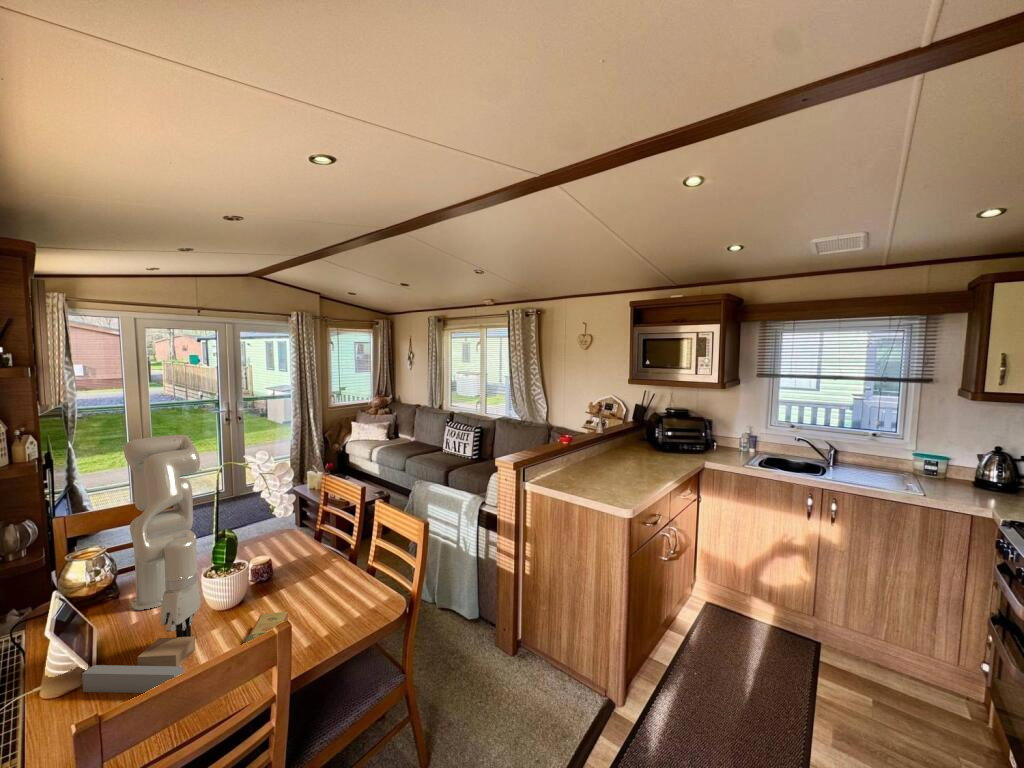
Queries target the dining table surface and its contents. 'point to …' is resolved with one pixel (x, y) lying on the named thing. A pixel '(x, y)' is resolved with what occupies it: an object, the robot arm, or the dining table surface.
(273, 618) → the carton
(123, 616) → the dining table surface
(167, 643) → the walnut block
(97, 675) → the board
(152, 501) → the robot arm
